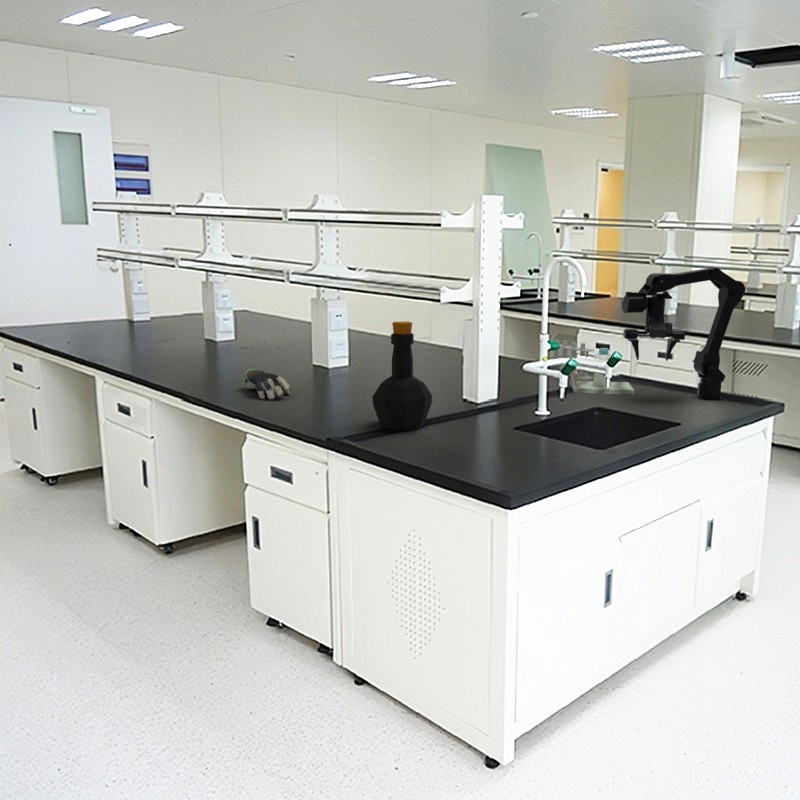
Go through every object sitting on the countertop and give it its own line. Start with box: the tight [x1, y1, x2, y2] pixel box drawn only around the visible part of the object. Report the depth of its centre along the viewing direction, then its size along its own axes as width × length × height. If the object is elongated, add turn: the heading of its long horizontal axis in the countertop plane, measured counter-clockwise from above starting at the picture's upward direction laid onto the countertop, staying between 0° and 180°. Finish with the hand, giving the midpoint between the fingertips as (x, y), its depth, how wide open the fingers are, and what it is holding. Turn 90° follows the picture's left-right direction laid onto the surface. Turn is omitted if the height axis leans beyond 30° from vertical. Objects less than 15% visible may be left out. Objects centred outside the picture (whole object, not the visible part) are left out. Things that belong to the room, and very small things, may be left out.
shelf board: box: [570, 369, 635, 395], centre depth 286 cm, size 20×14×6 cm
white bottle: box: [593, 347, 612, 387], centre depth 285 cm, size 6×6×13 cm
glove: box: [244, 368, 292, 400], centre depth 280 cm, size 12×10×25 cm
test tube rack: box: [537, 337, 595, 381], centre depth 314 cm, size 25×4×13 cm, turn 36°
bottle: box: [372, 321, 433, 431], centre depth 233 cm, size 16×16×30 cm
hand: (652, 360), depth 269 cm, fingers open, 9 cm apart
